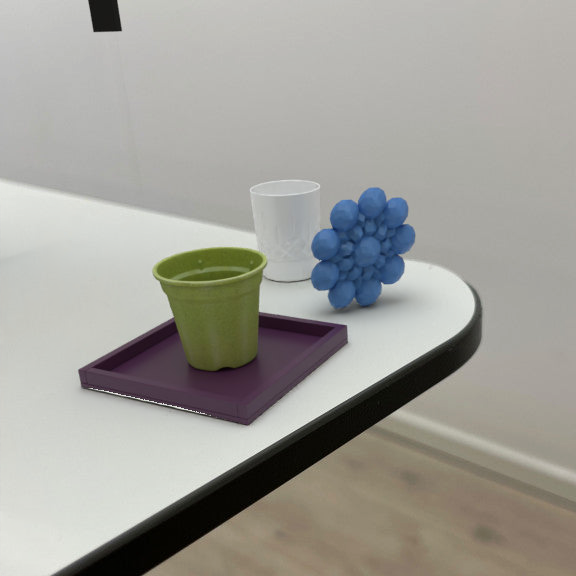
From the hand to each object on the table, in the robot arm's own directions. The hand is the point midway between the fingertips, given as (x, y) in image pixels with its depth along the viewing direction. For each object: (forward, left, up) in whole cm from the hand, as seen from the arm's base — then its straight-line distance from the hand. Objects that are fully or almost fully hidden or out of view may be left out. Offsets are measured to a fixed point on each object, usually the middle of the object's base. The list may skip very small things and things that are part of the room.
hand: (50, 36), depth 64 cm
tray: (+15, -2, -27) cm, 31 cm away
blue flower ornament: (+20, +16, -27) cm, 37 cm away
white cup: (+8, +22, -27) cm, 36 cm away
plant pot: (+15, -2, -26) cm, 30 cm away
